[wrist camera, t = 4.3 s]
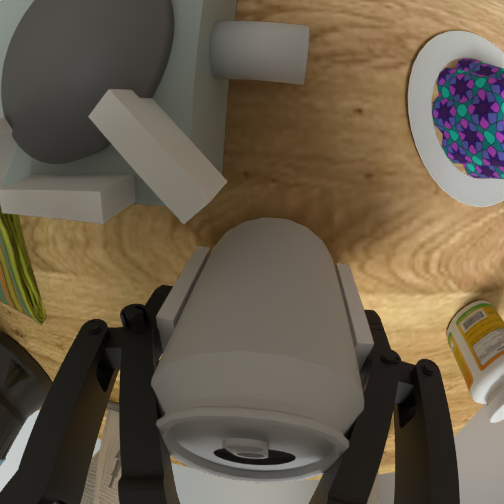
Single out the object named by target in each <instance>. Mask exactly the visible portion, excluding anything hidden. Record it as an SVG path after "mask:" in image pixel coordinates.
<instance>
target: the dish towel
mask: <svg viewBox="0 0 504 504" xmlns="http://www.w3.org/2000/svg"><path fill="white" fill-rule="evenodd" d="M0 301H1V302H3V303H5V304H6V305H8V306H10V307H12V308H14V309H16V310H17V311H19V312H21V313H24V314H26V315H28V316H29V317H31V318H32V319H33V320H34V321H35V322H37V323H38V324H40V325H41V324H42V323H43V322H44V320H45V319H46V314H45V310H44V307H43V305H42V301H41V298H40V295H39V292H38V289H37V286H36V283H35V279H34V276H33V272H32V269H31V265H30V262H29V259H28V255H27V250H26V246H25V242H24V238H23V234H22V230H21V226H20V220H19V215H17V214H7V213H2V210H1V205H0Z"/></svg>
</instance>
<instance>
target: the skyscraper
mask: <svg viewBox="0 0 504 504" xmlns="http://www.w3.org/2000/svg"><path fill="white" fill-rule="evenodd" d="M107 407H108V413H107V417H106V421H105V426H104V431H103V436H102V441H101V446H100V450H99V451H98V452H97V453H96V454H95V455H94V456H93V457H92V459H91V463H90V467H89V471H88V475H87V479H86V483H85V488H84V492H83V496H82V500H81V503H80V504H119V496H118V480H119V479H120V478H121V458H120V434H119V404H118V403H114V402H110V401H108V404H107Z"/></svg>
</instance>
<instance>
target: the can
mask: <svg viewBox="0 0 504 504" xmlns="http://www.w3.org/2000/svg"><path fill="white" fill-rule="evenodd" d="M151 386H152V387H153V389H154V391H155V395H156V400H157V405H158V410H159V414H160V419H158V420H157V422H156V425H157V427H158V429H159V431H160V434H161V436H162V438H163V440H164V443H165V445H166V447H167V450H168V452H169V454H170V455H171V456H172V457H173V458H175V459H177V460H179V461H180V462H182V463H184V464H186V465H188V466H190V467H192V468H194V469H197V470H200V471H203V472H205V473H208V474H211V475H214V476H218V477H223V478H227V479H232V480H238V481H246V482H256V483H281V482H290V481H297V480H304V479H307V478H311V477H315V476H318V475H321V474H323V473H324V472H325V471H326V470H327V469H328V468H329V467H330V466H331V465H332V464H333V463H334V462H335V461H336V460H337V459H338V458H339V457H340V456H341V455H342V454H343V453H344V452H345V451H346V449H347V448H349V441H348V440H347V439H346V437H347V436H348V434H349V432H350V430H351V429H352V427H353V425H354V423H355V421H356V419H357V417H358V416H359V414H360V413H361V412H362V411H363V410H364V396H363V390H362V384H361V379H360V374H359V369H358V363H357V358H356V354H355V349H354V344H353V340H352V335H351V331H350V326H349V322H348V317H347V313H346V309H345V305H344V301H343V297H342V293H341V289H340V285H339V281H338V278H337V274H336V270H335V266H334V263H333V259H332V256H331V255H330V253H329V251H328V249H327V247H326V246H325V244H324V242H323V241H322V240H321V239H320V238H319V237H318V236H317V235H316V234H314V233H313V232H312V231H311V230H310V229H309V228H307V227H305V226H303V225H300V224H298V223H296V222H293V221H291V220H288V219H281V218H270V217H263V218H258V219H254V220H249V221H244V222H243V223H241V224H239V225H237V226H236V227H234V228H232V229H230V230H229V231H227V232H226V233H225V234H224V235H223V236H222V238H221V239H220V240H219V241H218V242H217V244H216V245H215V246H214V248H213V250H212V252H211V254H210V256H209V258H208V260H207V262H206V264H205V266H204V268H203V270H202V272H201V274H200V276H199V278H198V280H197V282H196V284H195V286H194V288H193V290H192V293H191V295H190V297H189V299H188V301H187V303H186V305H185V307H184V309H183V311H182V314H181V316H180V318H179V320H178V322H177V324H176V326H175V328H174V331H173V333H172V335H171V337H170V339H169V341H168V344H167V346H166V348H165V350H164V352H163V355H162V357H161V359H160V361H159V363H158V366H157V368H156V370H155V372H154V375H153V377H152V381H151Z"/></svg>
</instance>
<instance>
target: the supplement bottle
mask: <svg viewBox="0 0 504 504" xmlns="http://www.w3.org/2000/svg"><path fill="white" fill-rule="evenodd" d="M447 341H448V344H449V346H450V348H451V350H452V352H453V354H454V356H455V359H456V361H457V363H458V365H459V367H460V370H461V372H462V374H463V377H464V379H465V382H466V384H467V387H468V389H469V392H470V394H471V396H472V398H473V400H474V401H475V402H477V403H480V404H484V403H486V406H485V408H486V413H487V414H488V417H489V420H490V422H492V423H496V422H499V421H501V420H503V419H504V321H503V320H502V318H501V317H500V315H499V314H498V313H497V311H496V310H495V308H494V307H493V306H492V305H491V304H490V303H489V302H487V301H483V300H480V301H476V302H473V303H471V304H469V305H467V306H466V307H464V308H463V309H462V310H461V311H459V312H458V313H457V314H456V316H455V317H454V318H453V320H452V321H451V323H450V325H449V327H448V330H447Z"/></svg>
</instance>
